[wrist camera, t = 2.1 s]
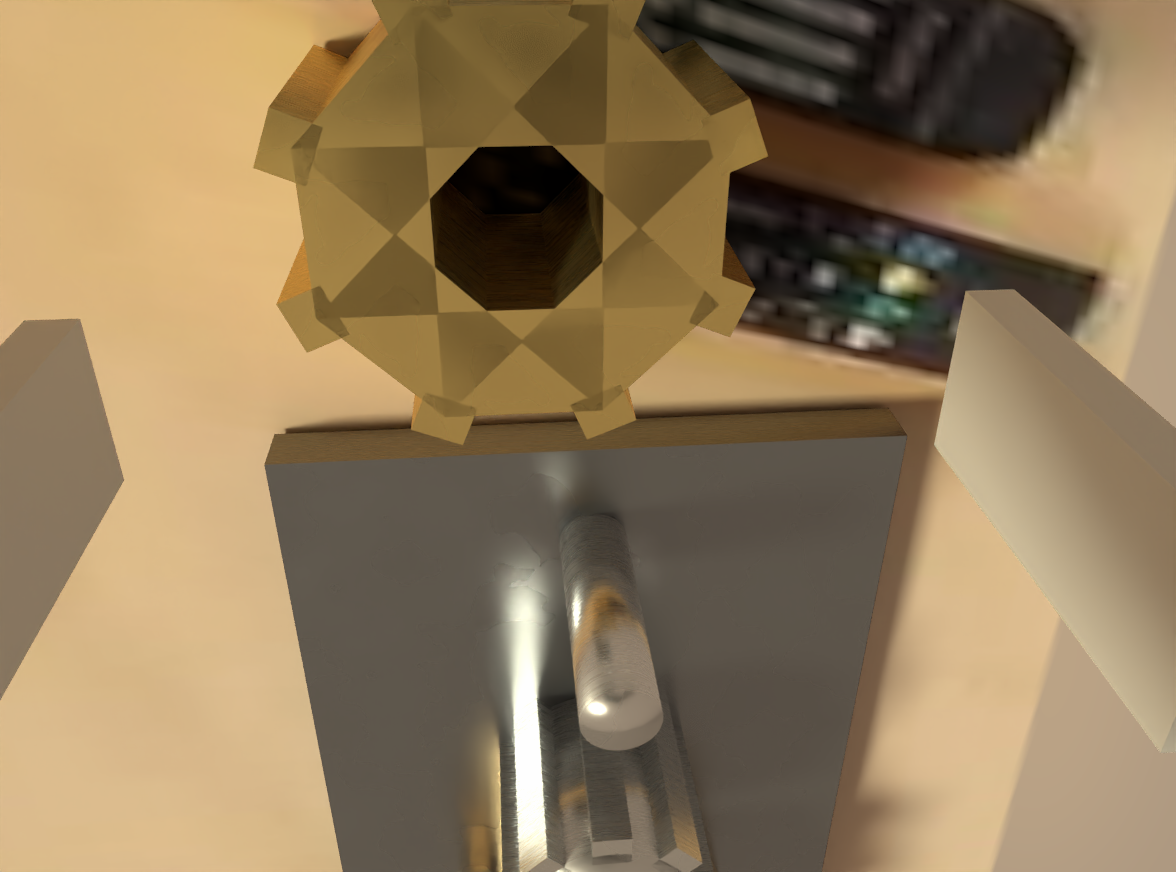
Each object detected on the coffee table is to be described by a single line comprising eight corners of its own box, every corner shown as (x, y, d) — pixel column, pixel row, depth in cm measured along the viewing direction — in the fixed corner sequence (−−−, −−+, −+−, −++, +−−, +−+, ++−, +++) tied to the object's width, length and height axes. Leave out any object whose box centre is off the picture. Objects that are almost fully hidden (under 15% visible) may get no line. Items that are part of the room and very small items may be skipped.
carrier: (274, 434, 29) (205, 642, 22) (888, 407, 30) (1017, 595, 23) (366, 936, 41) (342, 1176, 34) (798, 901, 43) (863, 1124, 36)
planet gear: (277, -72, 22) (218, -39, 17) (719, -74, 23) (787, -43, 18) (334, 334, 28) (301, 452, 22) (694, 322, 28) (741, 432, 23)
